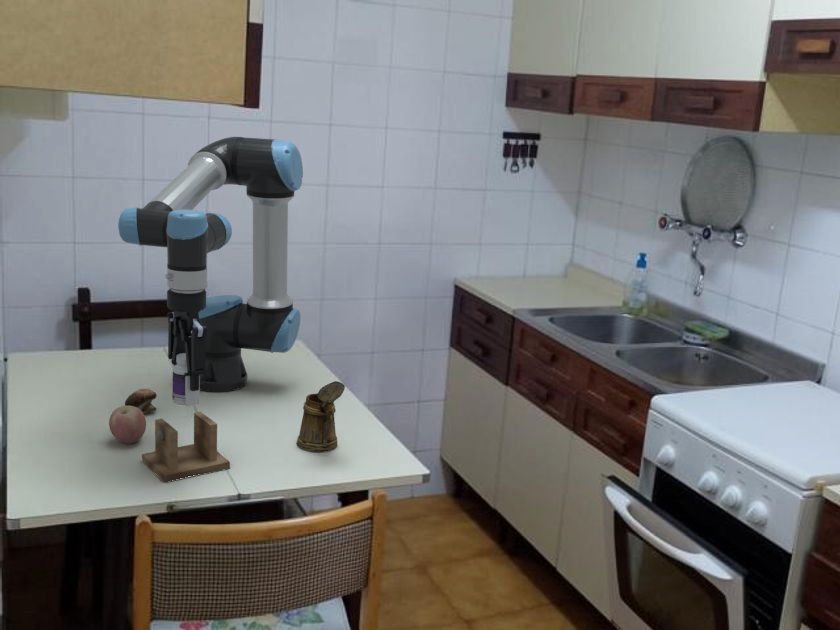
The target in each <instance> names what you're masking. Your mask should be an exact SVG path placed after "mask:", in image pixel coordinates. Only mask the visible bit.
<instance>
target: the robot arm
mask: <svg viewBox="0 0 840 630" xmlns="http://www.w3.org/2000/svg"><path fill="white" fill-rule="evenodd" d="M303 166H304V165H303V161H302V156H301V153H300V151H299V148H298V147H297V145H295V144H294V143H293V142H291V141H285V140H281V139H275V138H274V139H273V138H261V137H242V136H229V137H225V138H224V137H223V138H222V139H219V140H218V139H217V140H216V141H214V142H211V143H209V144H207V145H206V146H204V147H202V148H201V149H199V150H198V151H196V152H195V153H194V154H193V155H191V157H190V158H189V160H188V163H187V166H186V168H185V169H183V170H182V171H181V172H180V173H179V174H178V175H177V176H176V177H175V178H174V179H173V180H171V181H170V183H168V184H167V185H166V186H165V187H164V188H163V189H161V191H160V192H159V193H158V194H157V195H156V196H154V197H153V198H152V199H151V200H150V201H149V202H148V203H147V204H146V205H144V206H143V207H142V208H140V207H137V206H136V207H126V208H125V209H123V210H122V212H121V213H120V215H119V218H118V222H117V225H118V234H119V237H120V238H121V240H122V241H123V242H125V243H127V244H132V245H138V246H140V247H141V246H146V247H147V246H148V247H156V248H167V251H166V252H167V255H166V257H167V263H166V264H167V265H166V266H167V270H166V271H167V273H166V274H165V279H167V283H166V284H167V287H168V289H167V291H166V306H167V308H168V309H169V310H170V312H167V322H168V327H167V328H168V331H167V334H168V335H167V338H168V340H167V358H168V359H169V360H171V364H172V365H173V366H172V368H173V367H174V366H175V365H177V363H176V356H177V355H178V354H182V353H186V362H187V371H188V373H184V375H185V405H184V406H186V407H190V406H197V405H200V395H201V394H200V393H201V391H203V392H209V393H210V392H211V393H212V392H213V393H214V392H215V393H222V392H223V393H225V392H232V391H237V390H240V389H242V388H244V387H246V386H247V384H248V373H247V369H246V366H245V364H244V361H243V358H242V349H245V350H251V351H252V350H253V351H261V352H268V353H271V354H273V353H281V354H282V353H283V354H284V353H285V354H286V353H287V352H290V351H291V350H292V348H293V346H294V345H295V342H296V341H297V340H296V339H297V338H298V334H299V331H300V325H301V311H300V310H299V309H297V308H294V304H293V303H294V300H293V298H291V297H290V296H289V294H288V238H289V235H288V234H289V233H288V231H289V230H288V228H289V224H288V223H289V222H288V221H289V214H288V213H289V202H290V201H291V200H292V199H293V198H294V197H295V192H296V191H298V190H299V189H301V187H302V183H303V177H304V176H303V175H304V171H303V170H304V169H303V168H304V167H303ZM223 185H224V186H225V185H234V186H235V185H237V186H242V187H243V186H244V187H246V190H245V191H246V196H247V197H248V198H249V199H250V200H251V202H252V294H251V295H250V296H249V297H248V298H247V299H246V303H244V300H243V297H242V296H241V295H235V294H224V295H223V294H221V295H215V296H214V295H213V296H210V297H207V291H206V290H205V289H206V288H207V283H208V281H207V278H208V277H207V276H208V273H207V272H208V268H207V261H208V260H207V259H208V256H207V255H208V254H209V253H211V252H213V251H218V250H220V249H221V248H223V247H224V246H226V245H227V244H228V243H229V242H230V240H231V238H232V234H233V230H232V225H231V222H230V221H229V220H228V218H227V217H226V216H225V215H222V213H218V212H207V213H205V212H204V211H202V210H198V209H195V208H196V207H197V206H198V205H199V204H200V203H201V202H202V201H203V200H204V199H205V198H206V197H207V195H209V193H210V192H211V191H215V190H218V189H220V188H221V187H223Z"/></svg>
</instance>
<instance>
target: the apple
mask: <svg viewBox="0 0 840 630" xmlns="http://www.w3.org/2000/svg"><path fill="white" fill-rule="evenodd" d="M144 414H145V413H143V412H142V411H141V410H140V409H139V408H137V407H134V406H125V405H122V406H119V407H116V408H115V409H114V410H113V411H112V412H111V415H110V416H109V420H108V425H109V430H110V433H111V434H112V436H113V437H114V438H115V439H116V440H117V441H119V442H120V443H123V444H129V445H130V444H133V443H136V442H138V441H140V440H141V439H142V437H143V436H144V434H145V432H146V429H147V419H146V416H145V415H144Z"/></svg>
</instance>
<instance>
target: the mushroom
mask: <svg viewBox="0 0 840 630" xmlns="http://www.w3.org/2000/svg"><path fill="white" fill-rule="evenodd" d="M155 399H157V393H156V392H155V391H154V390H152V389H149V388H141V389H138V390H136V391H134V392H133V393H131V394H130V395H129V396H128V397H127V398H126V400H125V402H124V406H134V407H137V408H139V409H140V410H141V411H142V413H143V414H146V413H151V412H155V411H156V410H157V408H156V407H155V406H154V405H153V404H152V402H153V401H154V400H155Z"/></svg>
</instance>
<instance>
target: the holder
mask: <svg viewBox="0 0 840 630" xmlns="http://www.w3.org/2000/svg"><path fill="white" fill-rule="evenodd" d="M178 431H179V430H176V429H175V428H174V427H173V426H172V425H171V424H169V423H168V422H167V421H166V420H164V418H157V419H154V451H151V452H146V453H143V454H141V461H142V462H143V464H145V465H146V466H147V467H148V469H150V470H151V471H152V472H153V473H154V472H155V473H156V474H157V475H158V476H159V477H160V478H161V479H162V480H163V483H165V482H166V483H169V482H168V481H170V482H173V481H172V480H175V481H177V480H176V479H179V480H181V479H180V478H184V479H186V478H185V477H188V476H193V475H198V474H202V475H205V474H204V473H207V474H210V473H209V472H211V473H214V472H213V471H216V472H220V471H224V470H223V469H225V470H228V469H227V468H229V469H230V468H231V462H230V460H229V459H227V458H226V457H225V456H224V455H222V454H221V453H220V452H218V449H217V448H218V423H216V422H215V421H214V420H213V419H211V418H210V417H209V416H207V415H206V414H205V413H203V412H202V411H198V412H197V411H196V412H194V413H193V443H191V444H188V445H183V446H179V445H178V442H179V440H178V439H179V436H178V434H179V432H178ZM219 470H220V471H219ZM155 473H154V474H155ZM156 474H155V475H156ZM157 475H156V476H157ZM158 476H157V477H158ZM198 476H199V475H198ZM159 477H158V478H159ZM193 477H194V476H193ZM160 478H159V479H160ZM161 479H160V480H161ZM162 480H161V481H162Z"/></svg>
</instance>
